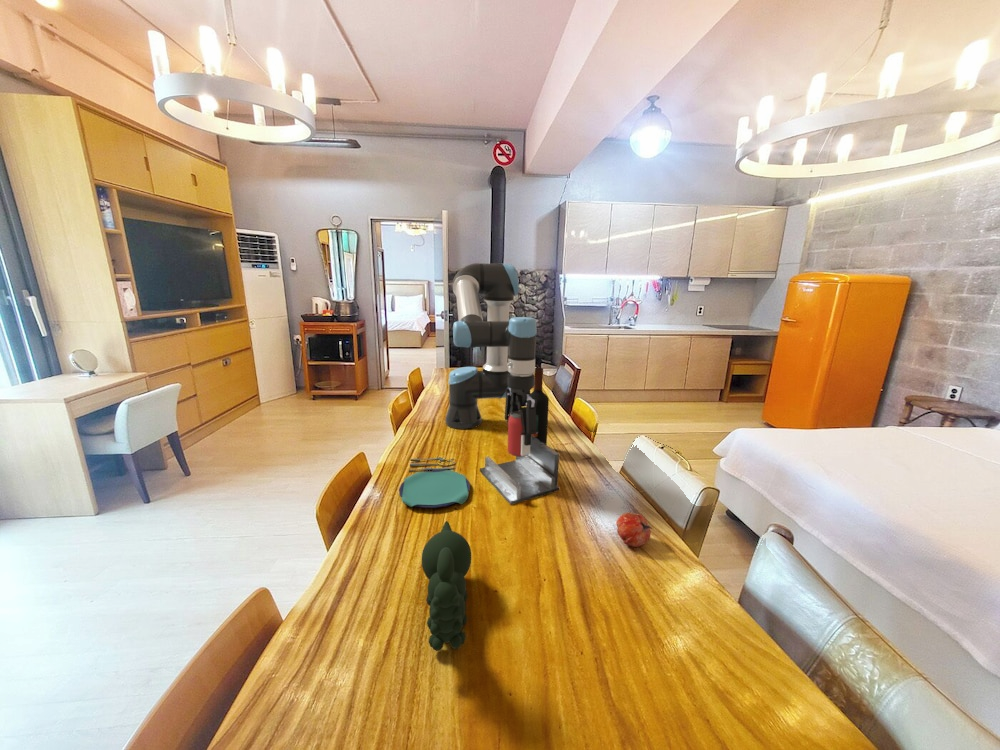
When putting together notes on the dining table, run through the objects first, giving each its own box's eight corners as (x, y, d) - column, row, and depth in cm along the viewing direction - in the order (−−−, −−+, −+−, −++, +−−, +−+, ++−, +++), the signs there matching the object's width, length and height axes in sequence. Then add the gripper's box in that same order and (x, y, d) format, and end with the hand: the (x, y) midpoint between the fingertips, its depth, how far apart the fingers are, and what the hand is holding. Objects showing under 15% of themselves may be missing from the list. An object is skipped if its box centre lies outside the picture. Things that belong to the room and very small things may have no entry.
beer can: (505, 456, 106) (506, 416, 104) (509, 446, 113) (510, 409, 110) (528, 458, 105) (529, 418, 102) (531, 448, 111) (532, 411, 109)
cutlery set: (395, 516, 94) (395, 508, 93) (404, 462, 122) (404, 456, 122) (473, 510, 97) (473, 502, 97) (464, 459, 126) (464, 453, 125)
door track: (479, 471, 116) (479, 438, 114) (523, 461, 123) (524, 430, 121) (510, 504, 99) (511, 467, 96) (559, 490, 106) (561, 455, 104)
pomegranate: (609, 550, 86) (639, 549, 78) (601, 516, 89) (629, 512, 81) (634, 544, 89) (665, 543, 81) (625, 512, 92) (654, 508, 84)
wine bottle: (547, 455, 128) (552, 371, 120) (526, 455, 128) (529, 371, 120) (544, 445, 135) (548, 365, 127) (523, 445, 135) (526, 365, 127)
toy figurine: (478, 674, 58) (468, 550, 81) (479, 582, 52) (469, 477, 75) (416, 682, 56) (425, 554, 80) (410, 589, 50) (421, 479, 74)
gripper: (493, 367, 110) (492, 439, 115) (528, 383, 93) (525, 466, 99) (515, 365, 113) (513, 435, 119) (552, 380, 96) (548, 460, 102)
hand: (518, 449), depth 109 cm, fingers closed on beer can, 7 cm apart
